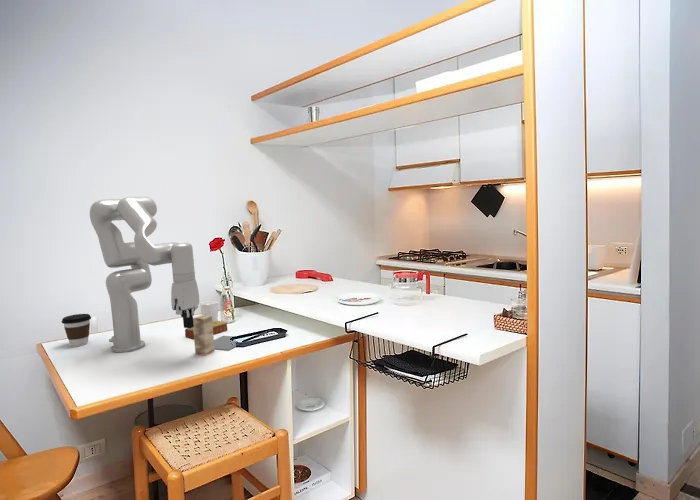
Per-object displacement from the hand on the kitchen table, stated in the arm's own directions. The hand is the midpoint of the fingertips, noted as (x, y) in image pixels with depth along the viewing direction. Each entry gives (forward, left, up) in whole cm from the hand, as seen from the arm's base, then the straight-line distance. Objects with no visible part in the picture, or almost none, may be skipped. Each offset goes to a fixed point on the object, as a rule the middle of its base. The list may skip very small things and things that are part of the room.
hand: (188, 327), depth 172 cm
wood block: (0, +8, -12) cm, 15 cm away
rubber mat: (+1, +20, -12) cm, 24 cm away
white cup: (-26, +46, -12) cm, 55 cm away
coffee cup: (-62, +5, -12) cm, 64 cm away
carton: (-16, +30, -13) cm, 37 cm away
